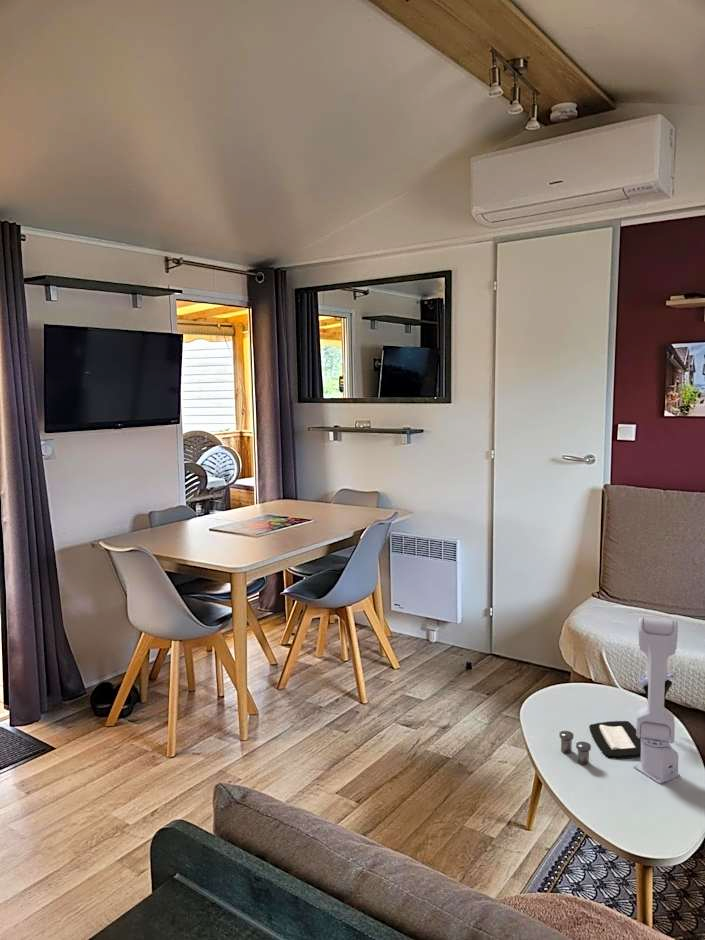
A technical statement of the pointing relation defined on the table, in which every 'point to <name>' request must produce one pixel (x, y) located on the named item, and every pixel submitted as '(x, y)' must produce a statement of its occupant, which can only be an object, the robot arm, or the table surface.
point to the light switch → (616, 739)
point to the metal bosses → (581, 746)
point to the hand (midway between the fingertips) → (655, 703)
